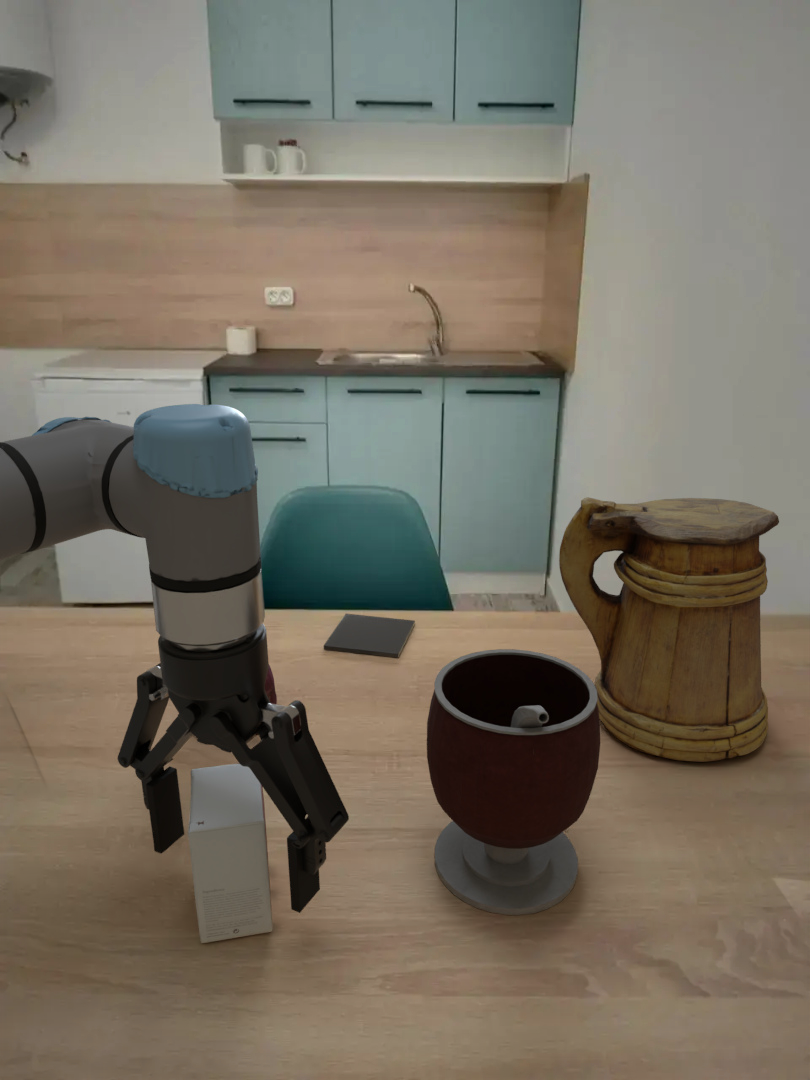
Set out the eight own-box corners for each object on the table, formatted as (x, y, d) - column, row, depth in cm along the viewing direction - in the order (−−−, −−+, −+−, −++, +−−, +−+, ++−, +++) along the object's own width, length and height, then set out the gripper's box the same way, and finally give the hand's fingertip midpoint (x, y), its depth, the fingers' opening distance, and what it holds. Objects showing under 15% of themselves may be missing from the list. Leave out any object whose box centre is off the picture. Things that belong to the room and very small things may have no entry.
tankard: (787, 774, 83) (832, 541, 74) (550, 754, 86) (566, 527, 78) (745, 683, 100) (777, 484, 91) (547, 669, 103) (561, 475, 94)
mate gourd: (417, 812, 77) (418, 618, 70) (562, 804, 79) (578, 613, 72) (438, 945, 63) (443, 718, 56) (616, 933, 64) (642, 709, 57)
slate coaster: (323, 649, 108) (323, 645, 108) (345, 617, 117) (345, 613, 117) (398, 658, 106) (398, 653, 106) (414, 624, 115) (414, 620, 115)
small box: (273, 934, 64) (266, 822, 60) (199, 946, 63) (186, 832, 59) (267, 862, 71) (261, 758, 68) (201, 871, 70) (190, 766, 67)
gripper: (392, 643, 56) (395, 892, 63) (122, 578, 67) (151, 797, 74) (332, 693, 50) (343, 963, 57) (45, 613, 61) (85, 848, 68)
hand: (234, 870), depth 66 cm, fingers open, 13 cm apart
